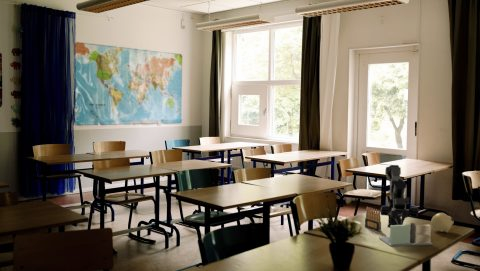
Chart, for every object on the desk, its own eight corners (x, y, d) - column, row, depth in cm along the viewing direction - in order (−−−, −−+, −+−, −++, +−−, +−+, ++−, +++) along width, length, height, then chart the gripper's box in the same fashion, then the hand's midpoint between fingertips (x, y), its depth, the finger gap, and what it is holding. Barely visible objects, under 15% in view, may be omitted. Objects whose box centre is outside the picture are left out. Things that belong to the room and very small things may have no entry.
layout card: (419, 236, 249) (419, 235, 249) (432, 244, 235) (432, 243, 235) (378, 238, 246) (378, 237, 246) (390, 246, 232) (390, 245, 232)
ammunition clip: (364, 226, 268) (365, 206, 267) (366, 226, 269) (367, 205, 268) (378, 231, 259) (379, 210, 258) (381, 231, 260) (381, 209, 259)
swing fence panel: (408, 242, 236) (408, 224, 236) (409, 242, 235) (410, 225, 234) (389, 243, 235) (390, 225, 234) (390, 243, 234) (391, 226, 233)
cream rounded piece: (457, 232, 257) (458, 213, 256) (442, 235, 251) (443, 215, 251) (441, 228, 266) (442, 209, 265) (427, 231, 260) (427, 212, 259)
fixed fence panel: (428, 241, 238) (429, 222, 238) (430, 243, 236) (431, 223, 235) (409, 242, 237) (409, 223, 236) (411, 243, 235) (411, 224, 234)
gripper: (381, 190, 249) (382, 216, 240) (418, 192, 246) (421, 218, 236) (380, 202, 258) (381, 227, 248) (415, 203, 254) (418, 229, 244)
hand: (400, 225), depth 244 cm, fingers closed
